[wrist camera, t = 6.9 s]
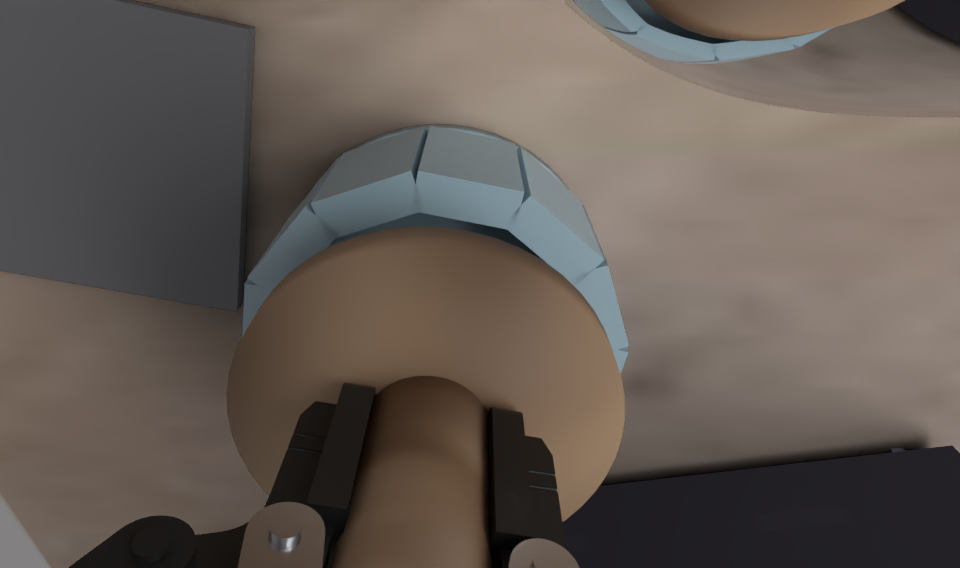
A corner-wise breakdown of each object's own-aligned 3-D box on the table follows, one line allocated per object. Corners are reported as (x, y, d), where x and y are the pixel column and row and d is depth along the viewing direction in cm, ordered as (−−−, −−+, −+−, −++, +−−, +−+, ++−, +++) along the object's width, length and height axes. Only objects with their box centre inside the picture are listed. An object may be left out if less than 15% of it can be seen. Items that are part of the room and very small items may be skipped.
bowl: (304, 92, 19) (251, 137, 14) (632, 160, 20) (677, 222, 15) (282, 369, 23) (236, 468, 19) (549, 414, 24) (565, 517, 20)
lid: (234, 503, 17) (125, 753, 12) (249, 188, 13) (92, 353, 8) (560, 551, 18) (595, 803, 13) (670, 269, 14) (789, 467, 9)
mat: (-89, -48, 17) (-108, -48, 16) (255, 27, 18) (248, 29, 17) (-36, 254, 21) (-49, 262, 21) (242, 303, 22) (236, 311, 21)
